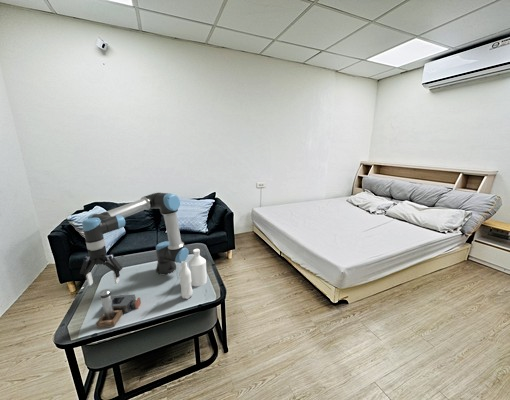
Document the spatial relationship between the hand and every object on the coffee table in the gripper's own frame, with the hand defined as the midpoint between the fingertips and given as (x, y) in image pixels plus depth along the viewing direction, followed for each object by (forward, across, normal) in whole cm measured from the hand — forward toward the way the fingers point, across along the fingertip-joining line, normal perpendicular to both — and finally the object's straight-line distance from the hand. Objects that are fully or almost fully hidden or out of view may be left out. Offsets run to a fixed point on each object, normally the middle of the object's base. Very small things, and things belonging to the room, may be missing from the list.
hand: (104, 283), depth 117 cm
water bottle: (+24, -39, -16) cm, 48 cm away
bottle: (+24, -44, -32) cm, 59 cm away
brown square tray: (+24, 0, +1) cm, 24 cm away
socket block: (+24, +1, -10) cm, 26 cm away
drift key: (+23, -7, -10) cm, 26 cm away
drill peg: (+23, 0, +1) cm, 23 cm away
